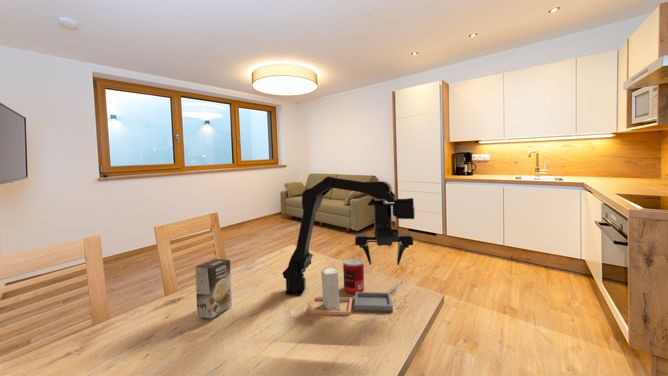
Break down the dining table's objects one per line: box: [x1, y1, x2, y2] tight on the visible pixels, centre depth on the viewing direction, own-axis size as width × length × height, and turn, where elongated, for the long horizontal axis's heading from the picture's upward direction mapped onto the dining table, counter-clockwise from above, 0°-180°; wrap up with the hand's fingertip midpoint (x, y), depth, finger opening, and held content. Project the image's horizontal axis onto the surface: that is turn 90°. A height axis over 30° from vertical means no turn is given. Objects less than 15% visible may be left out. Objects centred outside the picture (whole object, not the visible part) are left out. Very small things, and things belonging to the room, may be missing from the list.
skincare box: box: [320, 267, 341, 311], centre depth 91 cm, size 6×4×12 cm
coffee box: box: [195, 258, 233, 319], centre depth 90 cm, size 9×6×16 cm
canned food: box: [342, 258, 365, 295], centre depth 104 cm, size 8×8×11 cm
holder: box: [306, 296, 353, 316], centre depth 91 cm, size 14×11×1 cm
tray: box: [353, 291, 394, 313], centre depth 91 cm, size 12×10×2 cm
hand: (384, 264), depth 92 cm, fingers open, 9 cm apart
